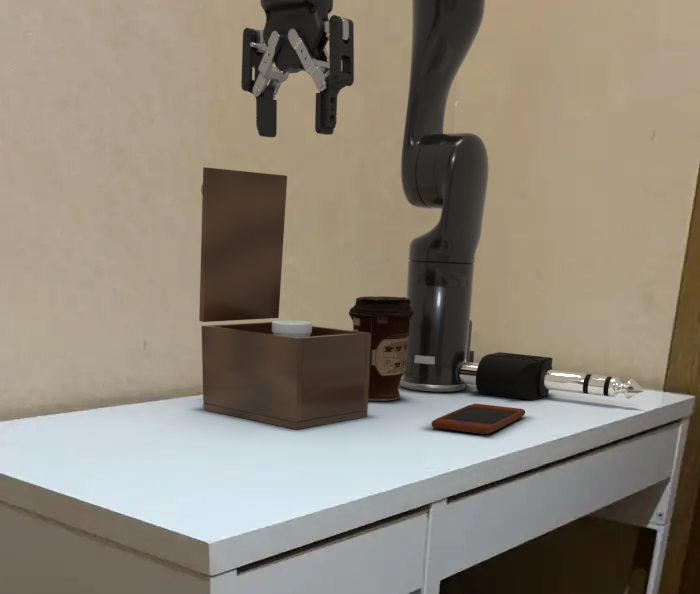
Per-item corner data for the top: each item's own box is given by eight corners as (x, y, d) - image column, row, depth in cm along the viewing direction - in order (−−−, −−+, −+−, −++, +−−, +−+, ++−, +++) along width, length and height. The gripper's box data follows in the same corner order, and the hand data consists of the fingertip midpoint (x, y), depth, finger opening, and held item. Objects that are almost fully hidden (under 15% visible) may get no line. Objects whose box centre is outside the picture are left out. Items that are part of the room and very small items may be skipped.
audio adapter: (489, 348, 140) (657, 365, 128) (485, 384, 142) (650, 405, 130) (458, 354, 131) (635, 373, 120) (455, 393, 133) (628, 415, 122)
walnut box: (367, 416, 114) (371, 332, 110) (296, 429, 105) (297, 338, 101) (275, 399, 123) (276, 321, 119) (203, 409, 114) (201, 325, 110)
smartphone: (430, 419, 107) (472, 402, 120) (429, 427, 108) (472, 409, 120) (489, 426, 104) (526, 408, 117) (488, 435, 105) (525, 416, 117)
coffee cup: (420, 398, 128) (427, 298, 123) (390, 406, 121) (395, 300, 116) (366, 391, 132) (370, 294, 127) (334, 398, 125) (337, 295, 120)
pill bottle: (317, 405, 115) (319, 320, 111) (311, 413, 110) (313, 325, 106) (272, 402, 116) (272, 318, 112) (263, 410, 110) (263, 322, 107)
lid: (287, 175, 112) (255, 172, 115) (207, 167, 103) (175, 164, 106) (278, 318, 119) (249, 311, 122) (203, 322, 110) (173, 314, 113)
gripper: (374, -45, 94) (367, 137, 100) (273, -26, 102) (272, 140, 108) (324, -63, 88) (320, 129, 95) (222, -42, 97) (224, 134, 103)
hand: (295, 135), depth 102 cm, fingers open, 8 cm apart
